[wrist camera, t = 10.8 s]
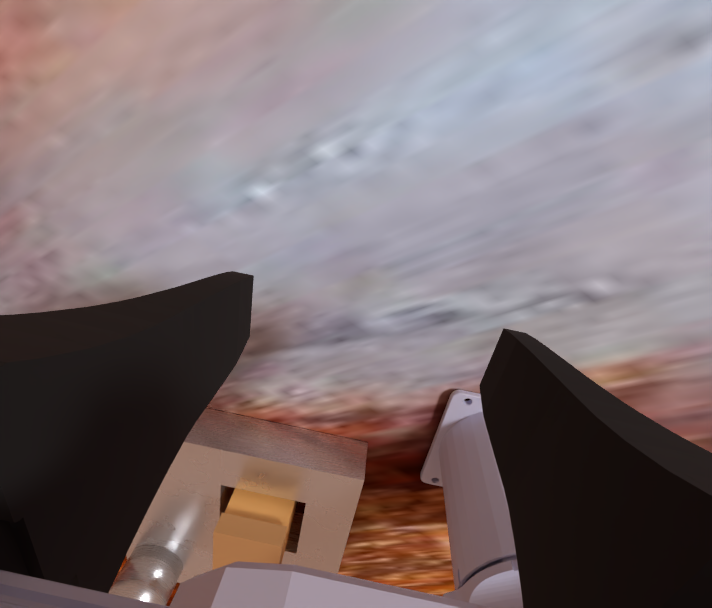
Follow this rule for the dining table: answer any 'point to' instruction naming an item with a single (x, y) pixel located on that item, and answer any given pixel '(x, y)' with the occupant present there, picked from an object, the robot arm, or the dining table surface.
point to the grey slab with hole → (252, 473)
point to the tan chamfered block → (252, 529)
